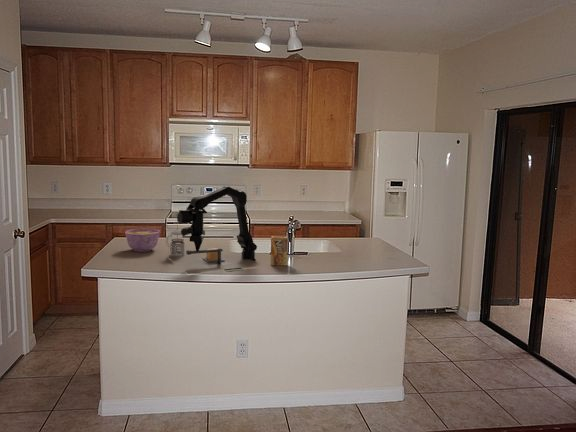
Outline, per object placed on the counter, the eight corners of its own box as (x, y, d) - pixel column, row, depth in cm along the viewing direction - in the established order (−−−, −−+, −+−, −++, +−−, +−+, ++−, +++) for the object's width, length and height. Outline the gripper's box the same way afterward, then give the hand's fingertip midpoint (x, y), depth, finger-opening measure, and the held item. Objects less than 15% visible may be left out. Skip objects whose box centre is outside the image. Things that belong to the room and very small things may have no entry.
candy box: (286, 263, 274) (287, 236, 271) (286, 265, 269) (287, 237, 267) (270, 263, 274) (271, 236, 271) (270, 265, 269) (271, 237, 267)
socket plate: (218, 258, 282) (218, 255, 282) (231, 266, 265) (231, 262, 265) (198, 259, 277) (198, 256, 277) (210, 268, 259) (210, 265, 259)
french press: (182, 259, 278) (181, 214, 274) (162, 257, 280) (162, 213, 277) (189, 255, 288) (188, 212, 284) (170, 253, 290) (169, 211, 286)
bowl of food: (119, 249, 297) (119, 230, 296) (150, 245, 311) (150, 227, 309) (134, 255, 283) (133, 235, 281) (166, 251, 296) (166, 232, 294)
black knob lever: (221, 262, 266) (221, 248, 265) (222, 263, 264) (222, 248, 263) (185, 266, 258) (185, 250, 257) (187, 267, 256) (187, 251, 254)
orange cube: (216, 258, 277) (216, 248, 276) (220, 261, 271) (220, 250, 270) (206, 259, 274) (206, 249, 273) (210, 262, 268) (210, 251, 268)
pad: (236, 266, 266) (236, 265, 266) (243, 269, 258) (243, 269, 258) (220, 267, 262) (220, 266, 261) (226, 271, 254) (226, 270, 254)
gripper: (184, 218, 266) (184, 247, 268) (179, 225, 247) (179, 255, 250) (205, 219, 267) (204, 247, 269) (201, 225, 248) (201, 255, 251)
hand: (197, 251), depth 260 cm, fingers closed
